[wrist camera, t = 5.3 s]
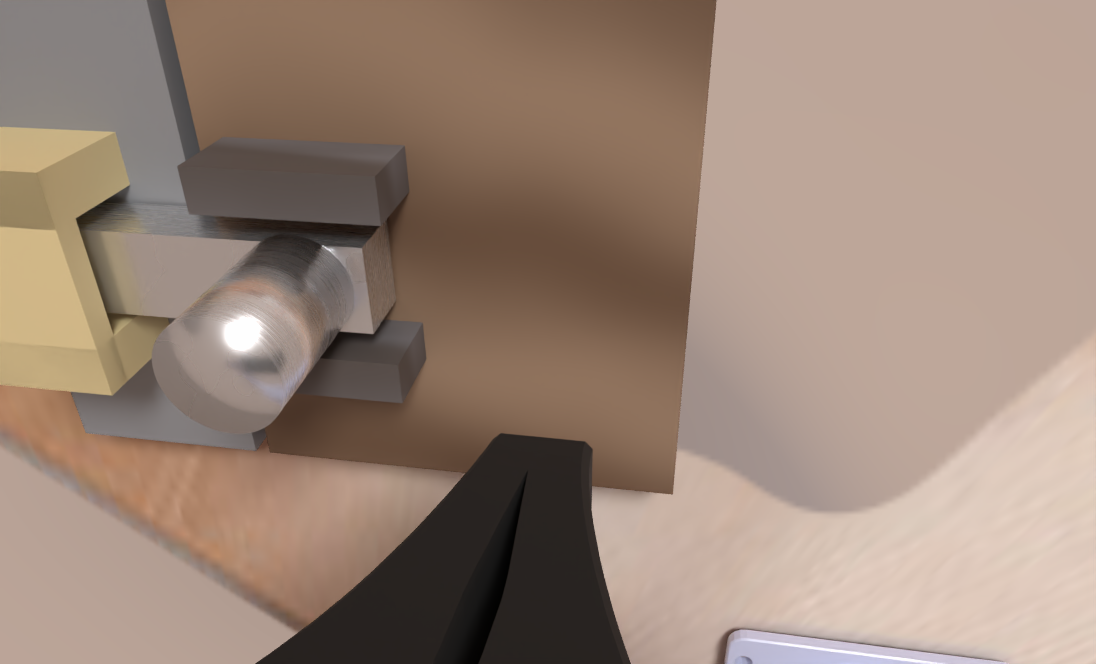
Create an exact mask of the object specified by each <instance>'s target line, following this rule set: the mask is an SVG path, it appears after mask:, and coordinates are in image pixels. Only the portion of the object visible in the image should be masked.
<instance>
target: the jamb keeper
mask: <svg viewBox="0 0 1096 664" xmlns="http://www.w3.org/2000/svg"><path fill="white" fill-rule="evenodd" d="M199 152H200V148H199V144H198V140H197V135H196V131H195V127H194V122H193V118H192V114H191V109H190V105H189V101H188V96H187V92H186V88H185V84H184V79H183V75H182V71H181V66H180V62H179V58H178V53H177V49H176V45H175V41H174V36H173V32H172V28H171V23H170V19H169V15H168V10H167V6H166V2H165V0H0V385H8V386H19V387H29V388H39V389H50V390H60V391H70V392H71V394H72V397H73V399H74V402H75V405H76V407H77V410H78V413H79V416H80V418H81V421H82V424H83V426H84V429H85V432H86V433H90V434H100V435H109V436H119V437H128V438H138V439H148V440H157V441H167V442H176V443H186V444H195V445H205V446H214V447H224V448H234V449H243V450H253V451H256V450H257V449H258V448H259V446H260V445H261V443H262V442H263V441H264V439H265V438H266V432H265V428H263V429H261V430H259V431H256V432H252V433H246V434H231V433H225V432H220V431H216V430H213V429H211V428H208V427H206V426H203V425H201V424H199V423H197V422H196V421H194V420H192V419H191V418H189V417H188V416H186V415H185V414H184V413H182V412H181V411H180V410H179V409H178V408H177V407H176V406H175V405H174V404H173V403H172V402H171V401H170V400H169V399H168V398H167V396H166V395H165V394H164V392H163V391H162V389H161V388H160V386H159V384H158V382H157V380H156V377H155V374H154V371H153V366H152V350H153V346H154V343H155V341H156V339H157V337H158V336H159V334H160V333H161V332H162V331H163V330H164V329H165V328H166V327H167V326H168V325H170V324H171V323H172V322H173V321H174V320H175V319H176V318H168V317H156V316H144V315H131V314H119V313H107V312H106V311H105V308H104V304H103V301H102V298H101V295H100V292H99V289H98V286H97V283H96V280H95V277H94V274H93V271H92V268H91V265H90V261H89V258H88V255H87V252H86V249H85V246H84V243H83V240H82V237H81V234H80V231H79V228H78V225H77V222H76V219H75V218H77V217H79V216H80V215H82V214H84V213H85V212H87V211H88V210H90V209H92V208H93V207H95V206H96V205H98V204H100V203H101V202H103V201H104V202H121V203H138V204H154V205H171V206H187V205H186V201H185V197H184V193H183V189H182V184H181V180H180V176H179V172H178V168H177V166H178V165H180V164H181V163H183V162H185V161H186V160H188V159H189V158H191V157H192V156H194V155H195V154H197V153H199Z"/></svg>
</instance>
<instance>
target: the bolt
mask: <svg viewBox="0 0 1096 664" xmlns="http://www.w3.org/2000/svg"><path fill="white" fill-rule="evenodd" d="M75 219H76V222H77V225H78V228H79V231H80V234H81V237H82V240H83V243H84V246H85V249H86V252H87V255H88V258H89V261H90V265H91V268H92V271H93V274H94V277H95V280H96V283H97V286H98V289H99V292H100V295H101V298H102V301H103V304H104V308H105V311H106V312H107V313H119V314H131V315H144V316H156V317H168V318H176V319H175V320H174V321H173V322H172V323H171V324H170V325H168V326H167V327H166V328H165V329H164V330H163V331H162V332H161V333H160V334H159V336H158V337H157V339H156V341H155V343H154V346H153V350H152V366H153V371H154V374H155V377H156V380H157V382H158V384H159V386H160V388H161V389H162V391H163V392H164V394H165V395H166V396H167V398H168V399H169V400H170V401H171V402H172V403H173V404H174V405H175V406H176V407H177V408H178V409H179V410H180V411H181V412H182V413H184V414H185V415H186V416H188V417H189V418H191V419H192V420H194V421H196V422H197V423H199V424H201V425H203V426H206V427H208V428H211V429H213V430H216V431H220V432H225V433H231V434H246V433H252V432H256V431H259V430H261V429H263V428H265V427H267V426H268V425H269V424H271V423H272V422H273V421H274V420H275V419H276V417H277V416H278V415H279V413H280V412H281V411H282V409H283V408H284V407H285V405H286V404H287V402H288V401H289V400H290V398H291V397H292V396H293V394H294V393H295V392H296V390H297V389H298V387H299V386H300V385H301V383H302V382H303V381H304V379H305V378H306V377H307V375H308V374H309V373H310V371H311V370H312V368H313V367H314V366H315V364H316V363H317V362H318V360H319V359H320V358H321V356H322V355H323V353H324V352H325V351H326V349H327V348H328V347H329V345H330V344H331V343H332V341H333V340H334V338H335V337H336V336H337V334H338V333H339V332H340V331H341V332H354V333H366V334H374V333H375V331H376V330H377V328H378V327H379V325H380V324H381V322H382V321H383V319H384V318H385V316H386V315H387V313H388V312H389V310H390V309H391V307H392V306H393V304H394V303H395V301H396V294H395V286H394V278H393V269H392V261H391V252H390V244H389V235H388V227H387V219H386V221H385V222H384V223H383V224H382V225H381V226H371V225H355V224H338V223H322V222H306V221H289V220H273V219H256V218H240V217H224V216H207V215H191V214H189V213H188V209H187V206H171V205H154V204H138V203H121V202H104V201H103V202H101V203H100V204H98V205H96V206H95V207H93V208H92V209H90V210H88V211H87V212H85V213H84V214H82V215H80V216H79V217H77V218H75Z"/></svg>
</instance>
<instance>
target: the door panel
mask: <svg viewBox="0 0 1096 664" xmlns="http://www.w3.org/2000/svg"><path fill="white" fill-rule="evenodd" d="M165 2H166V6H167V10H168V15H169V19H170V23H171V28H172V32H173V36H174V41H175V45H176V49H177V53H178V58H179V62H180V66H181V71H182V75H183V79H184V84H185V88H186V92H187V96H188V101H189V105H190V109H191V114H192V118H193V122H194V127H195V131H196V135H197V140H198V144H199V148H200V152H199V153H197V154H195V155H194V156H192V157H191V158H189V159H188V160H186V161H185V162H183V163H181V164H180V165H178V166H177V168H178V172H179V176H180V180H181V184H182V189H183V193H184V197H185V201H186V205H187V209H188V213H189V214H191V215H207V216H224V217H240V218H256V219H273V220H289V221H306V222H322V223H338V224H355V225H371V226H381V225H382V224H383V223H384V222H385V221H386V219H387V227H388V235H389V244H390V252H391V261H392V269H393V278H394V286H395V294H396V301H395V303H394V304H393V306H392V307H391V309H390V310H389V312H388V313H387V315H386V316H385V318H384V319H383V321H382V322H381V324H380V325H379V327H378V328H377V330H376V331H375V333H374V334H366V333H354V332H341V331H340V332H339V333H338V334H337V336H336V337H335V338H334V340H333V341H332V343H331V344H330V345H329V347H328V348H327V349H326V351H325V352H324V353H323V355H322V356H321V358H320V359H319V360H318V362H317V363H316V364H315V366H314V367H313V368H312V370H311V371H310V373H309V374H308V375H307V377H306V378H305V379H304V381H303V382H302V383H301V385H300V386H299V387H298V389H297V390H296V392H295V393H294V394H293V396H292V397H291V398H290V400H289V401H288V402H287V404H286V405H285V407H284V408H283V409H282V411H281V412H280V413H279V415H278V416H277V417H276V419H275V420H274V421H273V422H272V423H271V424H269V425H268V426H267V427H265V432H266V437H267V441H268V445H269V449H270V452H272V453H281V454H291V455H301V456H310V457H320V458H329V459H339V460H348V461H358V462H367V463H377V464H387V465H396V466H406V467H415V468H425V469H434V470H444V471H453V472H463V473H466V472H467V471H468V470H469V469H470V468H471V466H472V465H473V464H474V463H475V461H476V460H477V459H478V458H479V456H480V455H481V454H482V453H483V451H484V450H485V449H486V448H487V446H488V445H489V444H490V442H491V441H492V440H493V439H494V438H495V437H496V436H498V435H499V434H500V433H505V434H515V435H525V436H535V437H546V438H556V439H566V440H576V441H585V442H586V443H587V444H588V445H589V446H590V447H591V448H592V449H593V461H592V486H597V487H606V488H616V489H626V490H635V491H645V492H654V493H664V494H673V485H674V474H675V462H676V451H677V439H678V428H679V417H680V406H681V394H682V383H683V372H684V361H685V349H686V338H687V326H688V315H689V304H690V292H691V281H692V269H693V259H694V247H695V236H696V224H697V213H698V202H699V191H700V179H701V168H702V157H703V146H704V135H705V134H704V133H705V123H706V111H707V101H708V88H709V78H710V67H711V55H712V44H713V33H714V21H715V10H716V0H165Z"/></svg>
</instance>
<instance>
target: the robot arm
mask: <svg viewBox="0 0 1096 664" xmlns="http://www.w3.org/2000/svg"><path fill="white" fill-rule="evenodd" d="M592 461H593V449H592V448H591V447H590V446H589V445H588V444H587V443H586V442H585V441H576V440H566V439H556V438H546V437H535V436H525V435H515V434H505V433H500V434H499V435H498V436H496V437H495V438H494V439H493V440H492V441H491V442H490V444H489V445H488V446H487V448H486V449H485V450H484V451H483V453H482V454H481V455H480V456H479V458H478V459H477V460H476V461H475V463H474V464H473V465H472V466H471V468H470V469H469V470H468V471H467V472H466V474H465V475H464V476H463V477H462V478H461V479H460V481H459V482H458V483H457V484H456V485H455V486H454V488H453V489H452V490H451V491H450V492H449V493H448V495H447V496H446V497H445V498H444V499H443V500H442V501H441V502H440V503H439V504H438V505H437V507H436V508H435V509H434V510H433V511H432V512H431V513H430V514H429V515H428V516H427V517H426V518H425V520H424V521H423V522H422V523H421V524H420V525H419V526H418V527H417V528H416V529H415V530H414V531H413V532H412V533H411V534H410V535H409V536H408V537H407V538H406V539H405V540H404V541H403V542H402V543H401V544H400V545H399V546H398V547H397V548H396V549H395V550H394V551H393V552H392V553H391V554H390V555H389V556H388V557H387V558H386V559H385V560H384V561H383V562H382V563H380V564H379V565H378V566H377V567H376V568H375V569H374V570H373V571H372V572H371V573H370V574H369V575H368V576H367V577H365V578H364V579H363V580H362V581H361V582H360V583H359V584H358V585H356V586H355V587H354V588H353V589H352V590H351V591H350V592H348V593H347V594H346V595H345V596H344V597H343V598H341V599H340V600H339V601H338V602H337V603H335V604H334V605H333V606H332V607H330V608H329V609H328V610H327V611H326V612H324V613H323V614H322V615H321V616H319V617H318V618H317V619H316V620H314V621H313V622H312V623H310V624H309V625H308V626H306V627H305V628H304V629H302V630H301V631H300V632H298V633H297V634H296V635H294V636H293V637H292V638H290V639H289V640H288V641H286V642H285V643H284V644H282V645H281V646H280V647H278V648H277V649H275V650H274V651H273V652H271V653H270V654H269V655H267V656H266V657H264V658H263V659H261V660H260V661H258V662H257V663H256V664H631V663H630V660H629V657H628V654H627V651H626V649H625V646H624V643H623V640H622V637H621V634H620V631H619V628H618V625H617V621H616V618H615V615H614V611H613V608H612V604H611V601H610V597H609V593H608V590H607V586H606V582H605V578H604V574H603V570H602V566H601V561H600V557H599V552H598V546H597V541H596V536H595V530H594V525H593V518H592V511H591V504H592ZM741 656H745V657H741ZM724 664H1008V663H1004V662H999V661H991V660H983V659H975V658H968V657H960V656H952V655H944V654H936V653H928V652H920V651H912V650H904V649H896V648H889V647H881V646H873V645H865V644H857V643H849V642H841V641H833V640H825V639H817V638H809V637H802V636H794V635H786V634H778V633H770V632H762V631H754V630H737V631H734V632H733V633H731V634H730V635H729V637H728V641H727V647H726V654H725V660H724Z"/></svg>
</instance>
